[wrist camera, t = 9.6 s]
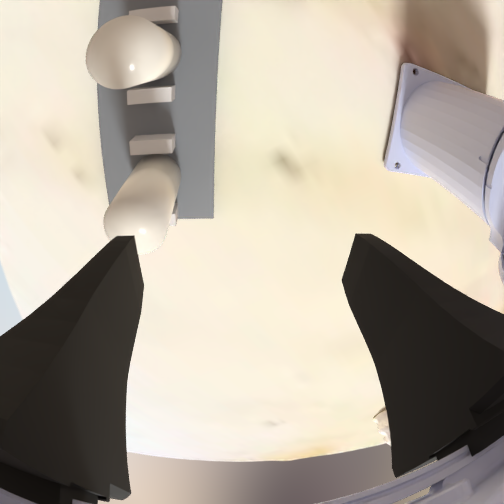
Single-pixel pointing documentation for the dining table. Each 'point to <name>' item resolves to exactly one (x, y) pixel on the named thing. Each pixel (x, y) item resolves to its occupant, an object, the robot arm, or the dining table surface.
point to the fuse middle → (131, 53)
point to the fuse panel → (167, 105)
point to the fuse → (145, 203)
